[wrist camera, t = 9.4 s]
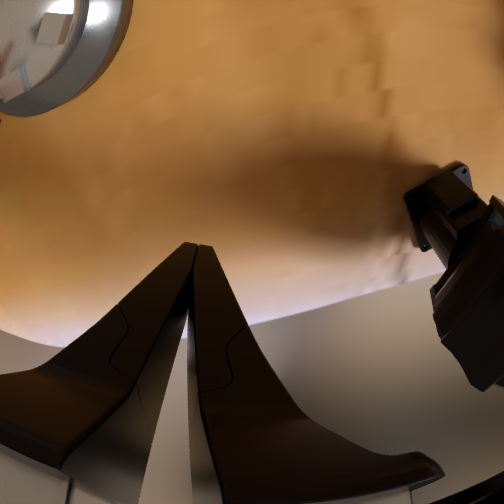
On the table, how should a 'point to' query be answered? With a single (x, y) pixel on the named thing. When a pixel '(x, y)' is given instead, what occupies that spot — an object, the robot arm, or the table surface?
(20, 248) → the table surface
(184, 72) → the table surface
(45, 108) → the flange base
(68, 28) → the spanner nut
